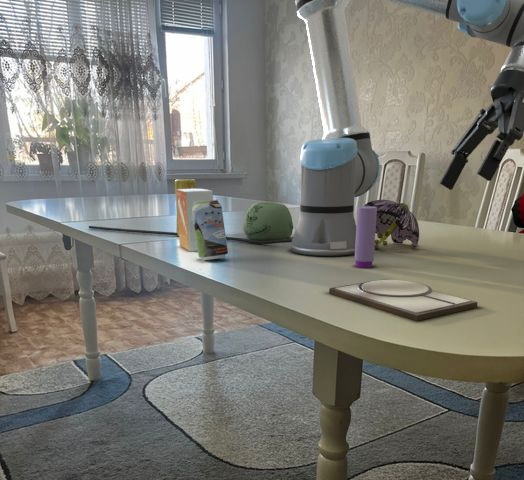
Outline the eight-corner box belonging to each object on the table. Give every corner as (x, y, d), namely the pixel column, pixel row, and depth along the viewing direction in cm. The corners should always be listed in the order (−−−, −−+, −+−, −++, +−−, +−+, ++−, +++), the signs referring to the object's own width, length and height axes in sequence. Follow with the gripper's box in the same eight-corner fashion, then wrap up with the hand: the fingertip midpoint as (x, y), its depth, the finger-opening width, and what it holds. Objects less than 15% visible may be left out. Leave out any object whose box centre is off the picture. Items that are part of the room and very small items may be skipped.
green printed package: (216, 263, 107) (214, 201, 103) (187, 260, 111) (184, 199, 107) (234, 258, 112) (233, 198, 108) (206, 255, 116) (203, 197, 112)
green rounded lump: (303, 239, 137) (304, 203, 135) (260, 243, 131) (259, 206, 128) (269, 232, 150) (269, 199, 147) (228, 235, 144) (227, 202, 141)
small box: (179, 246, 128) (175, 189, 124) (205, 244, 130) (202, 188, 126) (188, 251, 121) (185, 191, 117) (215, 249, 123) (213, 190, 119)
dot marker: (350, 265, 104) (353, 207, 101) (364, 263, 106) (367, 206, 103) (363, 268, 102) (366, 208, 98) (377, 266, 103) (381, 207, 100)
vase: (180, 233, 148) (176, 179, 144) (201, 234, 148) (199, 179, 143) (173, 237, 143) (170, 180, 138) (196, 237, 142) (193, 180, 137)
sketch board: (328, 293, 84) (329, 286, 84) (391, 282, 91) (392, 275, 90) (417, 321, 70) (417, 312, 69) (484, 305, 77) (485, 298, 76)
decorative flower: (443, 205, 116) (377, 184, 114) (427, 258, 116) (361, 238, 115) (418, 217, 130) (360, 199, 129) (404, 264, 131) (346, 246, 129)
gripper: (582, 68, 91) (519, 183, 92) (494, 108, 115) (446, 198, 117) (548, 43, 89) (485, 160, 91) (467, 88, 113) (418, 180, 115)
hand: (463, 182), depth 104 cm, fingers open, 13 cm apart
